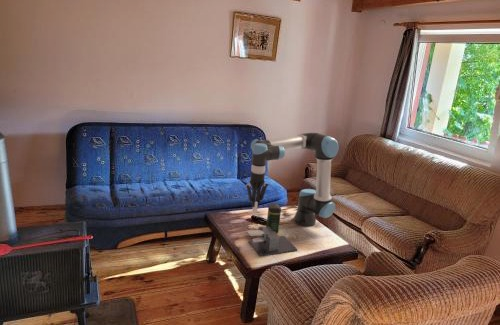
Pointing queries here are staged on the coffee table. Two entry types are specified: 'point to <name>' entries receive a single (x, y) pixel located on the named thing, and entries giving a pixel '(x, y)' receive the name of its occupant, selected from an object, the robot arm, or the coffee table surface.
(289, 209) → the coffee table surface
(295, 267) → the coffee table surface
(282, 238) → the hitch block
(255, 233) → the keeper
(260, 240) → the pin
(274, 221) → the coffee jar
